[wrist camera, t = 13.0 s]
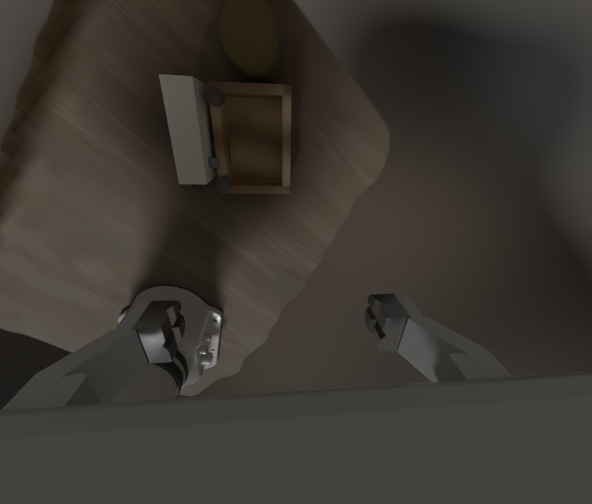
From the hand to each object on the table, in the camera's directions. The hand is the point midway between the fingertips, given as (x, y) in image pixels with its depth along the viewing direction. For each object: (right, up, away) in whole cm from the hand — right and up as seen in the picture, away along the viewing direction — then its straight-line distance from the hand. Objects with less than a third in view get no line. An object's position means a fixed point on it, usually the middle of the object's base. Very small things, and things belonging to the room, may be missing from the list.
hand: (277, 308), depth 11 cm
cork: (-4, +26, +19) cm, 33 cm away
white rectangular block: (-11, +19, +22) cm, 31 cm away
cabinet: (-8, +18, +23) cm, 30 cm away
